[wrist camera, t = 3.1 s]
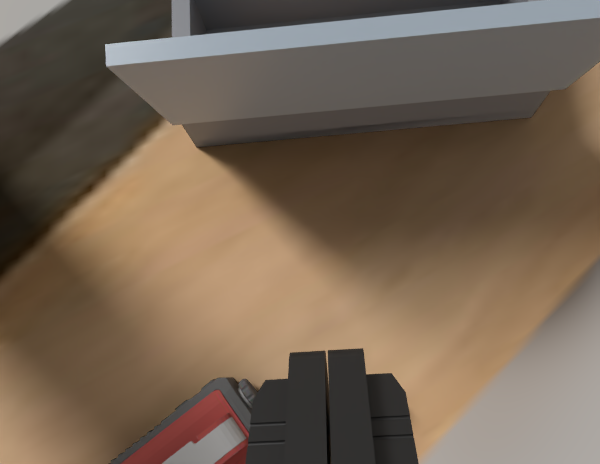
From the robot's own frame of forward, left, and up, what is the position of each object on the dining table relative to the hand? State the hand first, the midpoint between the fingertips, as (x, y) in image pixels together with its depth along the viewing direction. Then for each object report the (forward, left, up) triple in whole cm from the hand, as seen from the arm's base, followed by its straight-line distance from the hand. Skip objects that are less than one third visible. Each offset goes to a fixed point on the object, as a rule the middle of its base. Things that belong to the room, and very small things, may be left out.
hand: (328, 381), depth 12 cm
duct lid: (-8, +14, -15) cm, 22 cm away
